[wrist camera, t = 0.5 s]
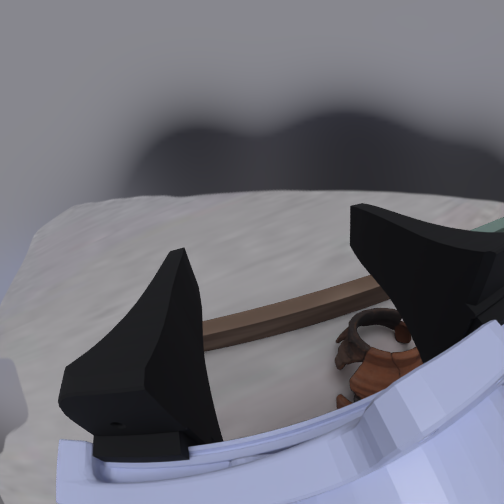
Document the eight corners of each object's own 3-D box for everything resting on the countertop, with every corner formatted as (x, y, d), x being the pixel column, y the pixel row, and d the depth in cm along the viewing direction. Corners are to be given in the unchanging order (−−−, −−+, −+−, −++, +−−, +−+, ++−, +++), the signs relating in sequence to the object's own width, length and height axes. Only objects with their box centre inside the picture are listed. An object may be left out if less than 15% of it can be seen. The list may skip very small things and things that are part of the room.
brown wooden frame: (468, 426, 16) (489, 421, 13) (194, 508, 17) (177, 516, 14) (408, 279, 28) (417, 258, 25) (172, 345, 29) (155, 331, 26)
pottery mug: (305, 399, 23) (315, 335, 20) (357, 351, 29) (370, 290, 26) (408, 458, 15) (453, 402, 12) (444, 392, 21) (475, 331, 18)
